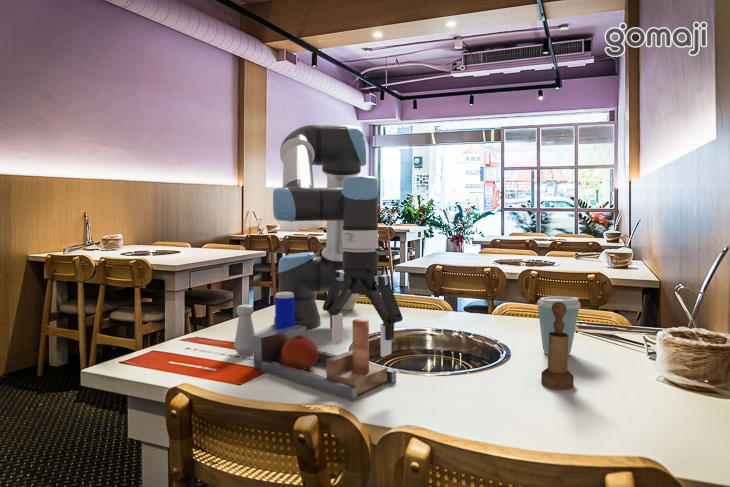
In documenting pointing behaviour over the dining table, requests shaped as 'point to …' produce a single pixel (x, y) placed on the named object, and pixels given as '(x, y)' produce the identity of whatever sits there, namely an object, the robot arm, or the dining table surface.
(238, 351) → the salt shaker
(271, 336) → the press base
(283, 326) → the beverage can
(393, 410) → the dining table surface
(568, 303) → the disposable coffee cup
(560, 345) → the mortar and pestle
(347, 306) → the mug
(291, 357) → the fruit
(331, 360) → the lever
